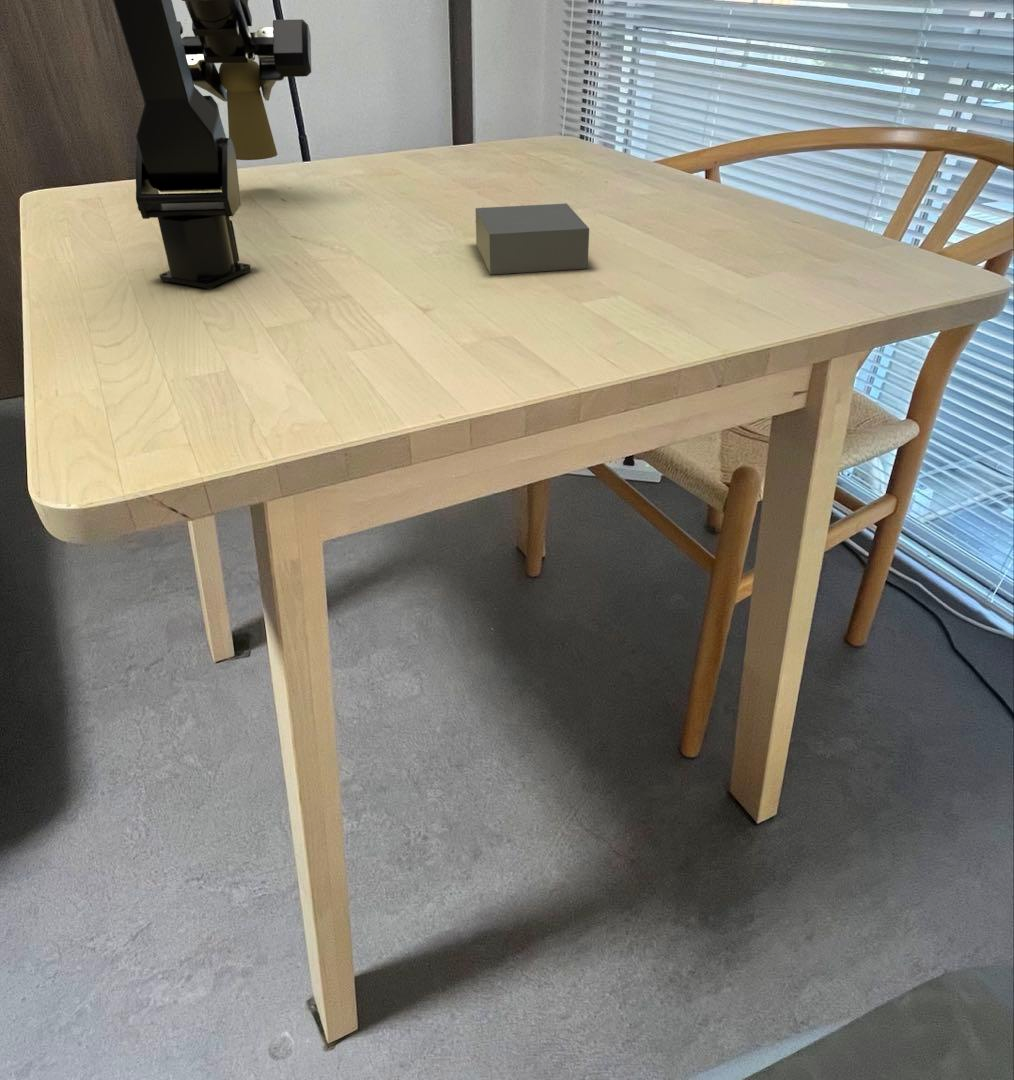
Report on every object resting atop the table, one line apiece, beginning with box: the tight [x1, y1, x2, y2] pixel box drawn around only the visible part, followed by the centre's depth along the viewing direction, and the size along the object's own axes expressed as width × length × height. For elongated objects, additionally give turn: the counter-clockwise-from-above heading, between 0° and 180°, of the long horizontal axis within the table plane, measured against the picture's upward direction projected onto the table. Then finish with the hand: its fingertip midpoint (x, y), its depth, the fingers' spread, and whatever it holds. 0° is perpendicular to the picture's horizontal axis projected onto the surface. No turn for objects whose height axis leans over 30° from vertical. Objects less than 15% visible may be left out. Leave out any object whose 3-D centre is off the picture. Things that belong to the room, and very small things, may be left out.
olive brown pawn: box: [218, 60, 278, 161], centre depth 109 cm, size 6×6×11 cm
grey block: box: [475, 203, 590, 275], centre depth 90 cm, size 10×10×4 cm
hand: (246, 97), depth 110 cm, fingers closed on olive brown pawn, 5 cm apart
